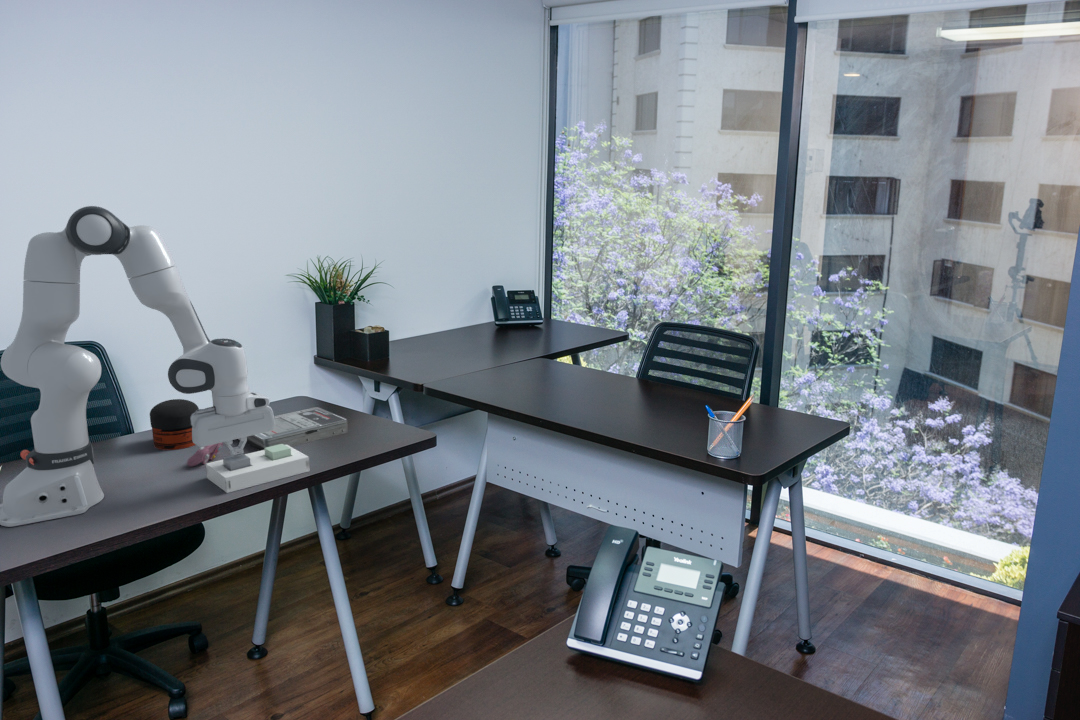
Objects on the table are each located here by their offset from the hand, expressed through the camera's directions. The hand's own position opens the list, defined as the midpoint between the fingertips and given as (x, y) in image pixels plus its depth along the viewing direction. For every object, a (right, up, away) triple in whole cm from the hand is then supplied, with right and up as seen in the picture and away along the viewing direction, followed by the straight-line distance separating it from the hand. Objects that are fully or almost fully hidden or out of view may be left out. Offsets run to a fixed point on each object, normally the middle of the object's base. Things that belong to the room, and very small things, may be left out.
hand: (236, 454), depth 206 cm
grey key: (0, -4, 0) cm, 4 cm away
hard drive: (+3, +1, +36) cm, 36 cm away
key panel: (+4, -6, +5) cm, 8 cm away
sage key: (+8, -2, +8) cm, 11 cm away
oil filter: (-28, 0, +29) cm, 40 cm away
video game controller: (-14, -4, +14) cm, 20 cm away
